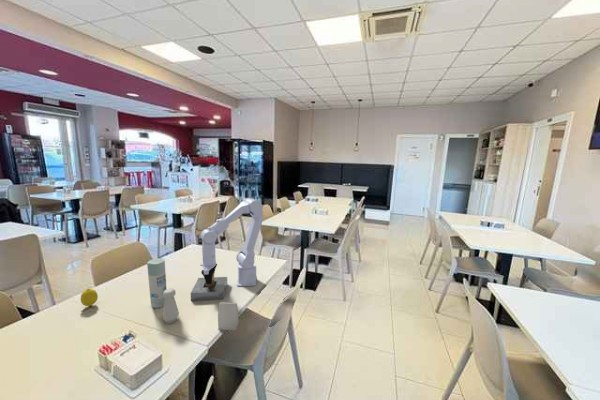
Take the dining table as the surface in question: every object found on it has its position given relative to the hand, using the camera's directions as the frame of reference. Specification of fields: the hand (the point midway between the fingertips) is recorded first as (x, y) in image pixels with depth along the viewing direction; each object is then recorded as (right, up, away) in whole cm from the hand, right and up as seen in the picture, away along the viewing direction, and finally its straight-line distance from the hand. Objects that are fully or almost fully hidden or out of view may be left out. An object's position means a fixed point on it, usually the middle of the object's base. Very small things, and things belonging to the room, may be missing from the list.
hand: (210, 281), depth 120 cm
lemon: (-47, -7, -13) cm, 49 cm away
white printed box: (+15, -10, -23) cm, 29 cm away
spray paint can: (-19, -7, -10) cm, 22 cm away
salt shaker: (-8, -9, -20) cm, 24 cm away
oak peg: (0, -2, 0) cm, 2 cm away
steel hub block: (0, -5, +1) cm, 5 cm away
